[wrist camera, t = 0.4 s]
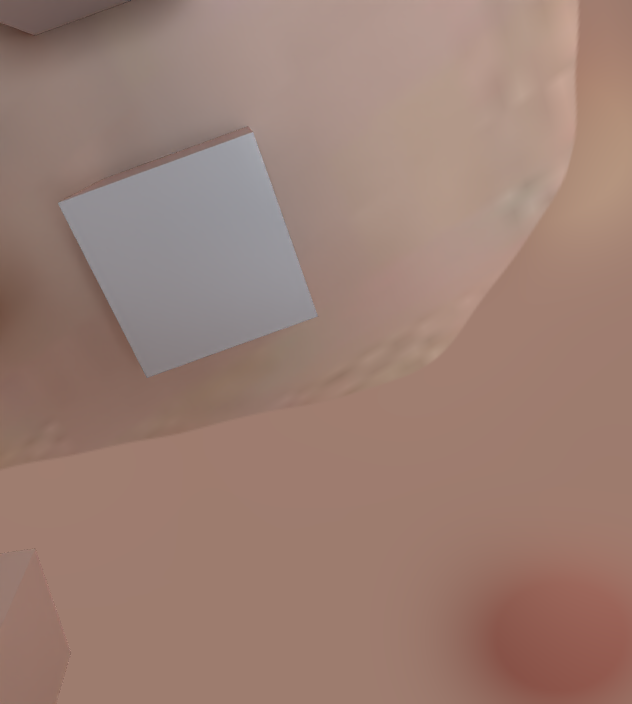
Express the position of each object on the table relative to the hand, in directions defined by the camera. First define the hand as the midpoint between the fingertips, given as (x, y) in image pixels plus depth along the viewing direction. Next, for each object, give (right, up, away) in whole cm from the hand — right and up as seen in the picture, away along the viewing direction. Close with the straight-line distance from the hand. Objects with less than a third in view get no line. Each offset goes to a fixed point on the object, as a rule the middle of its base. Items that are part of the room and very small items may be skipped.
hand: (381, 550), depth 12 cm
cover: (-8, +11, +22) cm, 26 cm away
